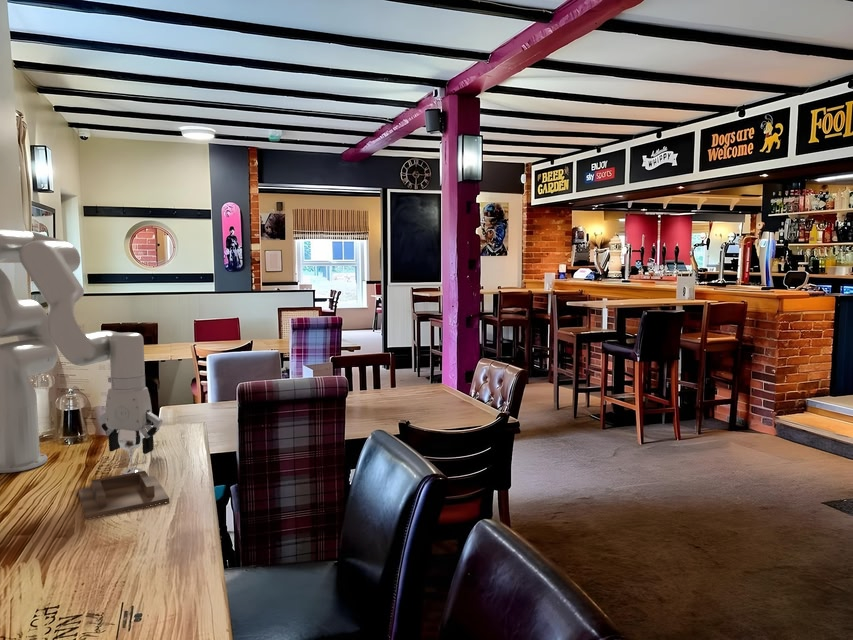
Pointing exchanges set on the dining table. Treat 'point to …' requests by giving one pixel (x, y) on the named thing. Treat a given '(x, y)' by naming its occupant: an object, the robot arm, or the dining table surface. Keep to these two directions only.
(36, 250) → the robot arm
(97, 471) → the dining table surface
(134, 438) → the wineglass
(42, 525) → the dining table surface
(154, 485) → the u rest
